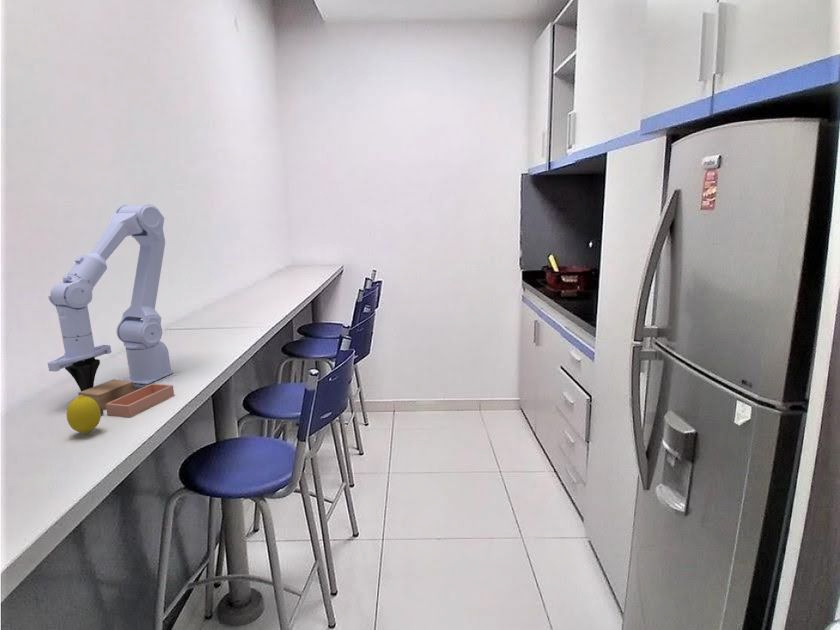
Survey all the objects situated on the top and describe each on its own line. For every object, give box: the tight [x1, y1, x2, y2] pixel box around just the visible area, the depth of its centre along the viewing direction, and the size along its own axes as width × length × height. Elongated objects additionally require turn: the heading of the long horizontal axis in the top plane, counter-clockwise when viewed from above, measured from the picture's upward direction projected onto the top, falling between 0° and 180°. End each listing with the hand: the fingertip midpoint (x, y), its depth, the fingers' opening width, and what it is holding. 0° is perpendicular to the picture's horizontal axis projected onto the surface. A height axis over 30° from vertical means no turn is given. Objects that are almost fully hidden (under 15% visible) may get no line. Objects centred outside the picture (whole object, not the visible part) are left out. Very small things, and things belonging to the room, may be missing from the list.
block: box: [78, 379, 135, 411], centre depth 119 cm, size 9×6×4 cm, turn 160°
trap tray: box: [105, 383, 175, 418], centre depth 117 cm, size 13×6×2 cm, turn 164°
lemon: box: [66, 395, 101, 435], centre depth 102 cm, size 6×6×8 cm
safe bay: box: [100, 384, 146, 416], centre depth 120 cm, size 16×8×1 cm, turn 164°
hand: (87, 391), depth 121 cm, fingers closed
